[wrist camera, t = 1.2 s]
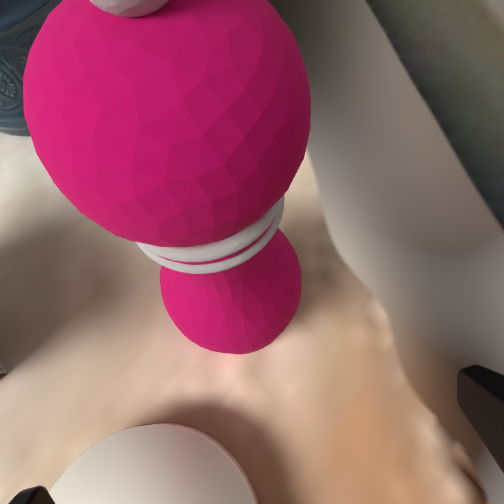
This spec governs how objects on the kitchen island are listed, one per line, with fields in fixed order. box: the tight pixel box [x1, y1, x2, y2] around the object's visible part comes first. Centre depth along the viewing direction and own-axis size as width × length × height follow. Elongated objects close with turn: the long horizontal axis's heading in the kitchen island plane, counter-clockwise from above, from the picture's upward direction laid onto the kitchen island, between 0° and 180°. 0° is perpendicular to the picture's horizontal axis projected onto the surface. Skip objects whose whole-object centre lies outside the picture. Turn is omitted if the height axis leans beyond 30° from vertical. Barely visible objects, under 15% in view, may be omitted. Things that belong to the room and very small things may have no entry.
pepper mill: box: [23, 0, 311, 354], centre depth 13 cm, size 7×7×20 cm
